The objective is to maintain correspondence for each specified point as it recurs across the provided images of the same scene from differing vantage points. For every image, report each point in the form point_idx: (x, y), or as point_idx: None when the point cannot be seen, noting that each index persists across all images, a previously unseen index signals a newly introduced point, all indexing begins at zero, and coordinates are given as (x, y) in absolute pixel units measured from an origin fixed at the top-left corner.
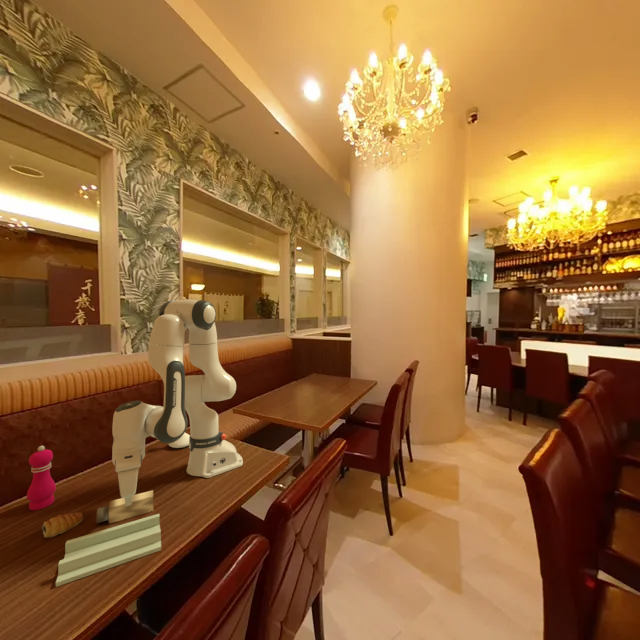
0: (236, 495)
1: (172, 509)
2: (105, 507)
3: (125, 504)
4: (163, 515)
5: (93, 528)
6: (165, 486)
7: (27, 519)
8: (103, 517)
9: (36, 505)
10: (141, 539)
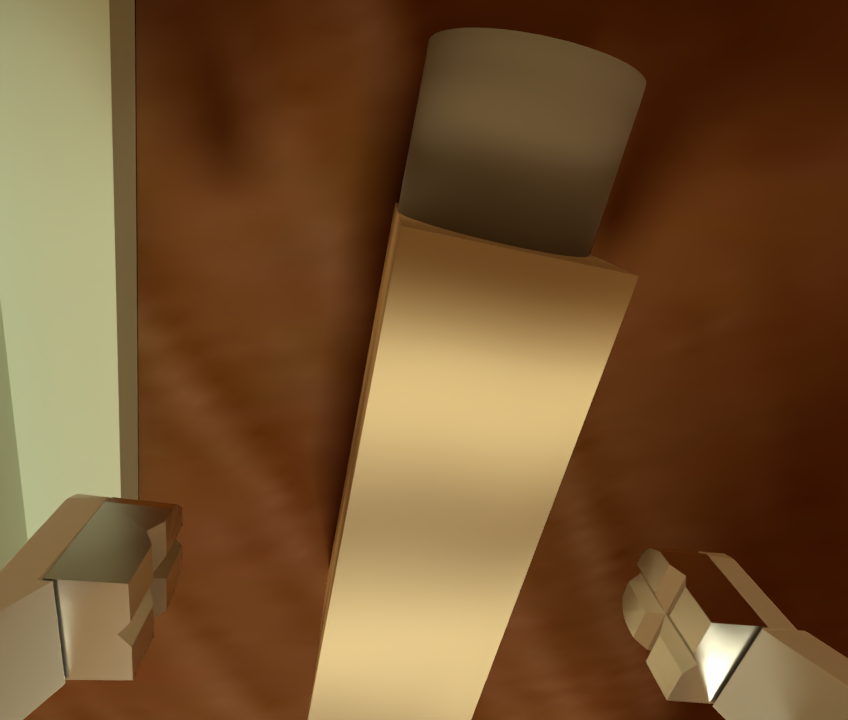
0: None
1: (245, 674)
2: (522, 184)
3: (56, 514)
4: (195, 616)
5: (422, 23)
6: (655, 682)
7: None
8: (411, 141)
9: None
10: None
